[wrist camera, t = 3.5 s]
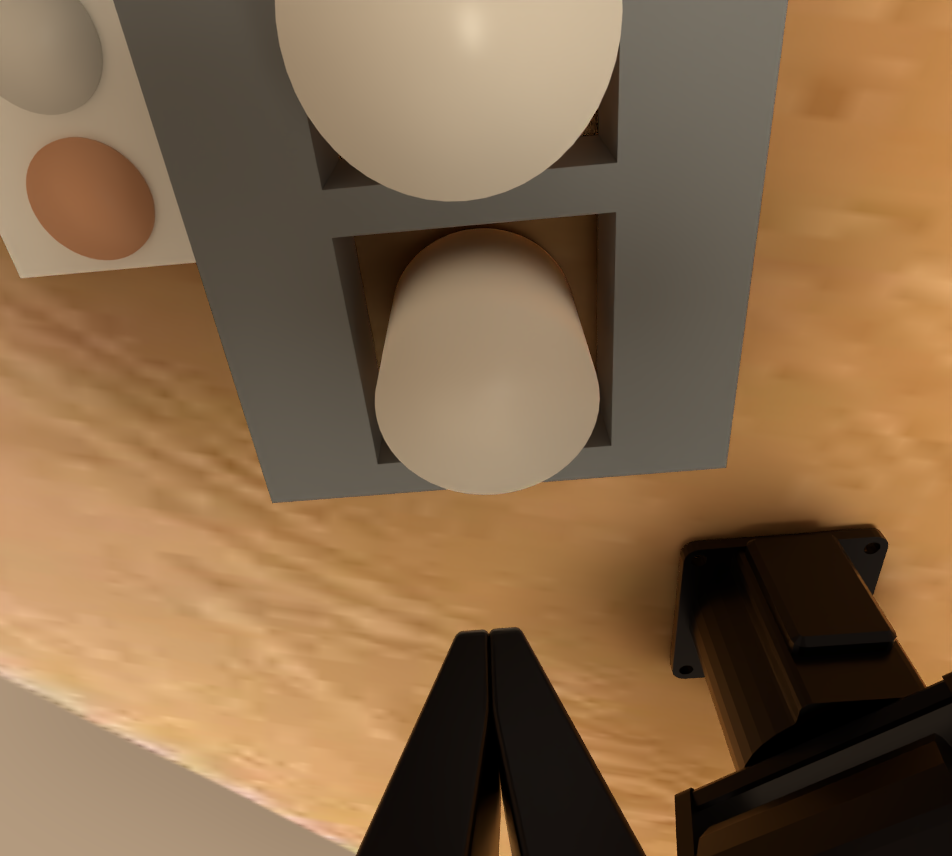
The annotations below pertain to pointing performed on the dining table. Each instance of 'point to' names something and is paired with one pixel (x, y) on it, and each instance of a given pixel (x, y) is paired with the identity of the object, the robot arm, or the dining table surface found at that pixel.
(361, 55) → the button
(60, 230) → the card
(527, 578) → the dining table surface
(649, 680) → the dining table surface
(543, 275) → the button
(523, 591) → the dining table surface
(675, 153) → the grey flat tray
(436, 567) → the dining table surface
